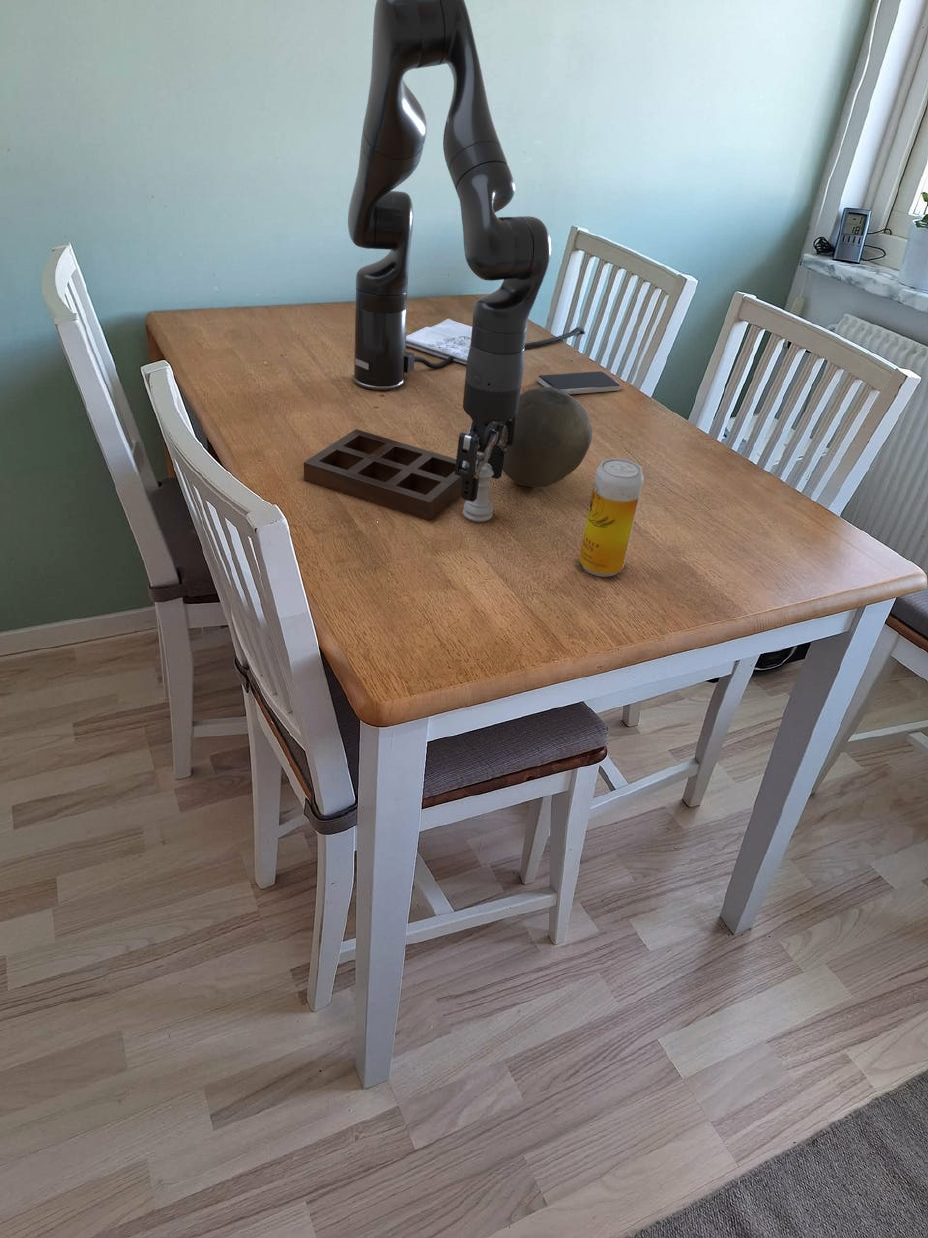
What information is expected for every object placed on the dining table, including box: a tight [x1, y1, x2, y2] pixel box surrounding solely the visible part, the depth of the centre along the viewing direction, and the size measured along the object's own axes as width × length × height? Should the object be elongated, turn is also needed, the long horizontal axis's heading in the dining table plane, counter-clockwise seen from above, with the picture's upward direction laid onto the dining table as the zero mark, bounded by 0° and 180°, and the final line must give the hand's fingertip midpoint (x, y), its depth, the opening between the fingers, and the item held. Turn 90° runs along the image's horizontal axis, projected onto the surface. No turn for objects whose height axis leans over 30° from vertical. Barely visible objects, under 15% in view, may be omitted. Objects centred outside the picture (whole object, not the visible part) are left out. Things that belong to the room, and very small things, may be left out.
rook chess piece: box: [462, 462, 494, 523], centre depth 128 cm, size 4×4×8 cm
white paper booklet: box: [406, 318, 472, 366], centre depth 189 cm, size 19×20×2 cm
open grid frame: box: [303, 428, 469, 521], centre depth 136 cm, size 15×21×3 cm
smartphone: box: [537, 371, 622, 395], centre depth 177 cm, size 8×1×15 cm
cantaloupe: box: [502, 386, 593, 488], centre depth 136 cm, size 14×14×15 cm
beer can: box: [579, 457, 644, 578], centre depth 118 cm, size 6×6×15 cm
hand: (481, 487), depth 128 cm, fingers open, 8 cm apart
